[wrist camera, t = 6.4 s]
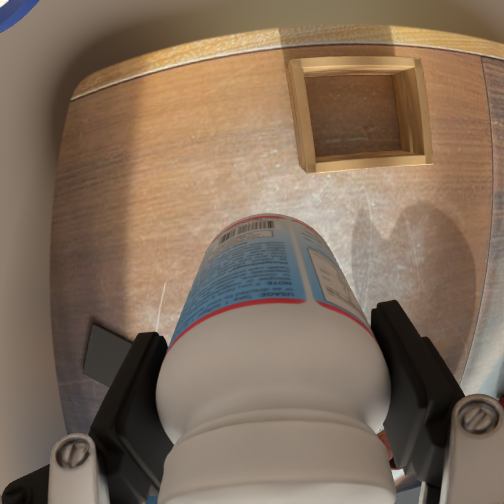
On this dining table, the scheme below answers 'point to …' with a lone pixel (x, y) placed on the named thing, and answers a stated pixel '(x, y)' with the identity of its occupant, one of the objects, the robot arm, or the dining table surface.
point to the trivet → (105, 354)
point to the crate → (407, 101)
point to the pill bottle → (273, 378)
